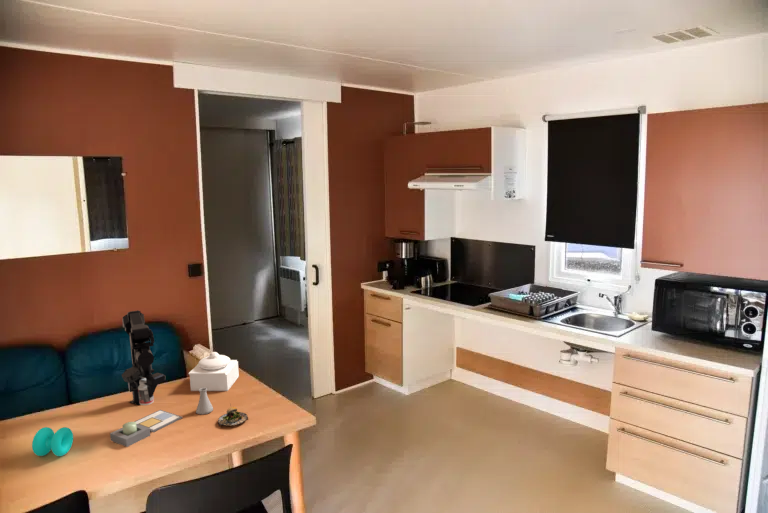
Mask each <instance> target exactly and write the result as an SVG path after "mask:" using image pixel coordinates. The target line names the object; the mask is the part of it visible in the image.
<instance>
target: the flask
mask: <svg viewBox="0 0 768 513" xmlns="http://www.w3.org/2000/svg"><path fill="white" fill-rule="evenodd" d="M198 392H199V400H198V403H197V406H196V411H195V414H197V415H208V414H210V413H211V412H212V411H214V407H213V404H212V402H211V401H210V398H209V397H208V393H207V392H208V391H207V388H201V389H199V391H198Z"/></svg>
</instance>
